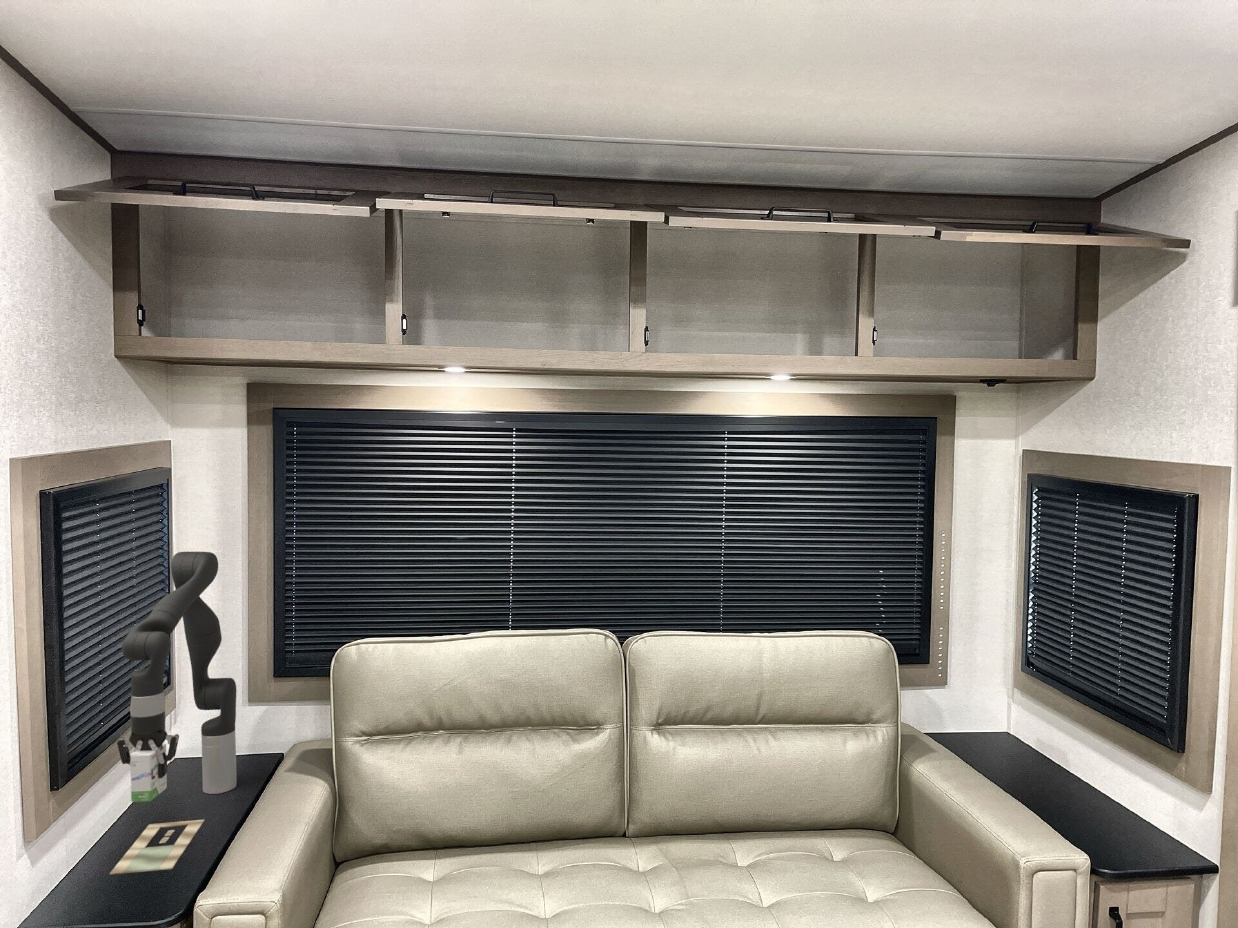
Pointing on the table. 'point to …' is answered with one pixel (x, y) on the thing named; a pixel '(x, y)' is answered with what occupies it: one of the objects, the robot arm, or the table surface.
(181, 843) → the beige rectangular frame
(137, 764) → the ink box
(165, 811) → the table surface
